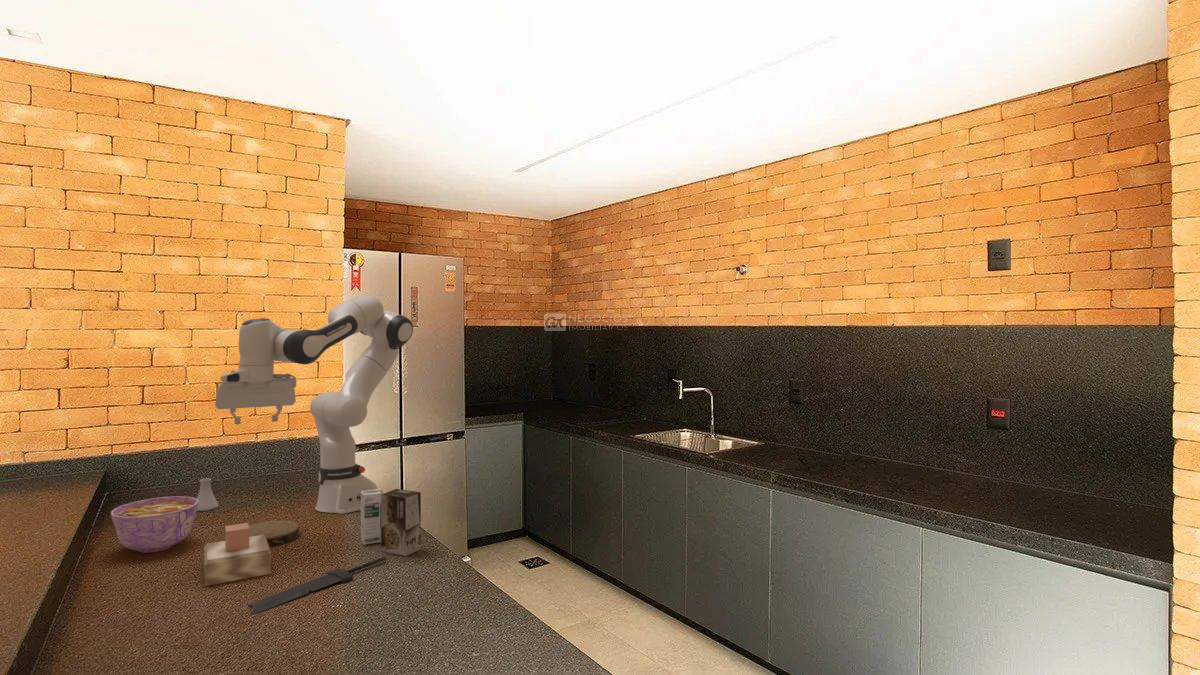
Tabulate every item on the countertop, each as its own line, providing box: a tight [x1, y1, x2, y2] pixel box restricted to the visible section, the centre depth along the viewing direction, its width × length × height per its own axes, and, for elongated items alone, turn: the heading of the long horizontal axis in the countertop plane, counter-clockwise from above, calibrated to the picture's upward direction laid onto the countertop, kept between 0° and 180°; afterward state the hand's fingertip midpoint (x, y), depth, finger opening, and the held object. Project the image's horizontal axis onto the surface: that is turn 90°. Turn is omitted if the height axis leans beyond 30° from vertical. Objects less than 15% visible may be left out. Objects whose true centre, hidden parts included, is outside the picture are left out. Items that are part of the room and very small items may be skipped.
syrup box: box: [360, 488, 384, 546], centre depth 179 cm, size 6×6×14 cm
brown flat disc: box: [248, 519, 300, 548], centre depth 180 cm, size 16×16×3 cm
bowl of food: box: [110, 495, 199, 554], centre depth 172 cm, size 20×20×12 cm
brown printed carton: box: [381, 488, 422, 557], centre depth 172 cm, size 9×6×16 cm
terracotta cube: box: [224, 522, 250, 552], centre depth 157 cm, size 5×5×5 cm
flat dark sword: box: [247, 556, 387, 615], centre depth 149 cm, size 7×35×2 cm, turn 144°
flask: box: [196, 477, 220, 512], centre depth 208 cm, size 7×7×10 cm
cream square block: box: [203, 535, 272, 587], centre depth 157 cm, size 14×14×6 cm
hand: (256, 422), depth 178 cm, fingers open, 8 cm apart
